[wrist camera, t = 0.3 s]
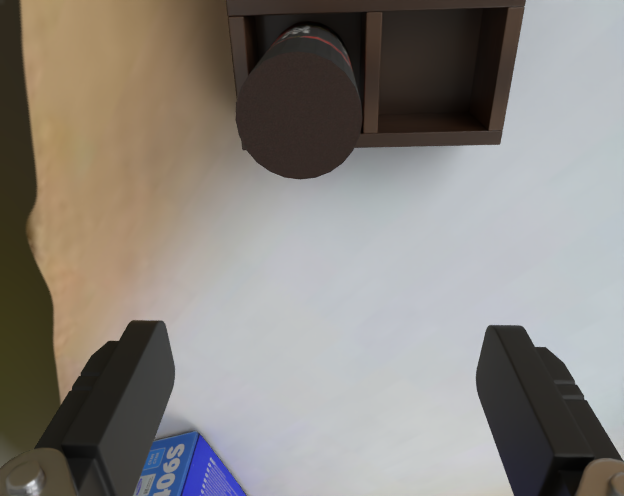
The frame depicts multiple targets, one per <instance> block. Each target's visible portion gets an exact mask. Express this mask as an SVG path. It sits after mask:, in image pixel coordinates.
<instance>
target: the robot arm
mask: <svg viewBox="0 0 624 496" xmlns="http://www.w3.org/2000/svg"><path fill="white" fill-rule="evenodd" d="M174 379H175V366H174V361H173V356H172V351H171V347H170V342H169V338H168V333H167V329H166V325H165V323H164V322H163V321H143V320H133V321H131V322H130V323H129V324H128V326H127V327H126V329H125V331H124V333H123V334H122V336H121V338H120V340H119V341H108V342H107V343H106V344H105V345H103V346H102V347H101V348H100V349H99V350H98V351H96V352H95V353H94V354H93V355H92V356H91V357H90V359H89V360H88V362H87V364H86V365H85V367H84V369H83V370H82V372H81V376H79V377H78V378H77V380H76V382H75V383H74V385H73V386H72V391H69V393H68V395H67V396H66V398H65V399H64V401H63V403H62V404H61V406H60V408H59V409H58V411H57V412H56V414H55V416H54V417H53V419H52V421H51V422H50V424H49V425H48V427H47V429H46V430H45V432H44V434H43V435H42V437H41V439H40V440H39V442H38V443H37V445H36V446H35V448H34V449H32V450H29V451H26V452H24V453H21V454H19V455H18V456H16V457H14V458H12V459H11V460H9V461H8V462H7V463H5V464H4V465H3V466H2V467H1V468H0V496H133V495H134V492H135V489H136V487H137V484H138V481H139V479H140V476H141V473H142V470H143V468H144V465H145V462H146V460H147V457H148V454H149V452H150V449H151V446H152V444H153V441H154V438H155V435H156V433H157V430H158V427H159V425H160V422H161V419H162V417H163V414H164V411H165V409H166V406H167V403H168V400H169V398H170V395H171V392H172V389H173V386H174ZM476 386H477V392H478V396H479V399H480V401H481V404H482V407H483V410H484V413H485V415H486V418H487V421H488V424H489V427H490V429H491V432H492V435H493V438H494V441H495V443H496V446H497V449H498V452H499V455H500V457H501V460H502V463H503V466H504V469H505V471H506V474H507V477H508V480H509V483H510V485H511V488H512V491H513V494H514V496H624V461H623V459H622V458H621V456H620V455H619V453H618V451H617V450H616V448H615V446H614V445H613V443H612V442H611V440H610V438H609V437H608V435H607V433H606V432H605V430H604V428H603V427H602V425H601V423H600V422H599V420H598V418H597V417H596V415H595V413H594V412H593V410H592V409H591V407H590V405H589V404H588V402H587V400H584V395H583V394H582V392H581V390H580V389H579V387H578V385H575V381H574V379H573V377H572V376H571V374H570V372H569V371H568V369H567V367H566V366H565V364H564V363H563V362H562V361H561V360H560V359H559V358H557V357H556V356H555V355H554V354H553V353H552V352H551V351H549V350H548V349H547V348H546V347H535V346H534V344H533V343H532V341H531V339H530V337H529V335H528V334H527V332H526V330H525V329H524V328H523V327H522V326H516V325H489V326H488V327H487V329H486V332H485V337H484V341H483V345H482V349H481V353H480V358H479V362H478V366H477V371H476Z"/></svg>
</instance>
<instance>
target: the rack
mask: <svg viewBox="0 0 624 496" xmlns="http://www.w3.org/2000/svg"><path fill="white" fill-rule="evenodd" d="M525 2H526V0H226V6H227V15H228V16H229V17H228V23H229V32H230V41H231V50H232V59H233V68H234V77H235V86H236V96H237V99H238V96H239V92H240V89H241V86H242V85H243V83H244V82H245V80H246V79H247V77H248V76H249V74H250V73H251V71H252V70H253V69H254V67H255V66H256V65H257V64H258V62H259V61H260V60H261V58H262V57H263V56H264V55H265V53H266V52H267V51H268V49H269V48H270V47H271V46H272V44H273V43H274V42H275V40H276V39H277V38H278V37H279V35H280V34H281V33H282V32H284V31H285V30H286V29H287V28H288V27H290V26H292V25H294V24H297V23H300V22H307V21H311V22H318V23H321V24H324V25H326V26H328V27H330V28H331V29H332V30H333V31H335V32H336V33H337V34H338V35H339V36H340V38H341V39H342V41H343V42H344V44H345V47H346V49H347V52H348V55H349V59H350V63H351V67H352V70H353V74H354V78H355V82H356V85H357V89H358V93H359V97H360V100H361V107H362V119H363V120H362V126H361V131H360V136H359V139H358V141H357V143H356V145H355V147H354V148H364V147H411V146H458V145H500V143H501V137H502V130H503V126H504V120H505V114H506V109H507V103H508V98H509V92H510V86H511V81H512V75H513V70H514V64H515V58H516V53H517V47H518V42H519V36H520V30H521V25H522V19H523V14H524V6H525ZM241 141H242V140H241ZM242 149H243V150H246V148H245V146H244V144H243V142H242Z"/></svg>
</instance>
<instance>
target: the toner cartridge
mask: <svg viewBox="0 0 624 496" xmlns="http://www.w3.org/2000/svg"><path fill="white" fill-rule="evenodd" d="M133 496H246V494H245V493H244V492H243V491H242V489H241V487H240V485H239V484H238V483H237V482H236V480H235V479H234V477H233V476H232V475H231V473H230V472H229V471H228V470H227V468H226V467H225V466H224V464H223V463H222V462H221V461H220V459H219V458H218V457H217V455H216V454H215V453H214V451H213V450H212V449H211V447H210V446H209V445H208V443H207V442H206V441H205V440H204V439H203V437H202V436H201V435H200V434H199V433H198V432H197V431H194V432H190V433H186V434H181V435H177V436H173V437H168V438H164V439H159V440H156V441H153V444H152V446H151V449H150V452H149V454H148V457H147V460H146V462H145V465H144V468H143V470H142V473H141V476H140V479H139V481H138V484H137V487H136V489H135V492H134V495H133Z"/></svg>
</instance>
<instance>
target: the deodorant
mask: <svg viewBox="0 0 624 496" xmlns="http://www.w3.org/2000/svg"><path fill="white" fill-rule="evenodd" d="M362 120H363V119H362V107H361V100H360V97H359V93H358V89H357V85H356V82H355V78H354V74H353V70H352V67H351V63H350V59H349V55H348V52H347V49H346V47H345V44H344V42H343V41H342V39H341V38H340V36H339V35H338V34H337V33H336V32H335V31H333V30H332V29H331V28H330V27H328V26H326V25H324V24H321V23H318V22H311V21H307V22H300V23H297V24H294V25H292V26H290V27H288V28H287V29H286V30H285V31H284V32H282V33H281V34H280V35H279V37H278V38H277V39H276V40H275V42H274V43H273V44H272V46H271V47H270V48H269V49H268V51H267V52H266V53H265V55H264V56H263V57H262V58H261V60H260V61H259V62H258V64H257V65H256V66H255V67H254V69H253V70H252V71H251V73H250V74H249V76H248V77H247V79H246V80H245V82H244V83H243V85H242V86H241V89H240V92H239V96H238V99H237V102H236V123H237V128H238V132H239V136H240V138H241V140H242V142H243V144H244V146H245V148H246V150H247V151H248V153H249V154H250V155H251V156H252V157H253V158H254V159H255V161H256V162H257V163H259V164H260V165H261V166H263V167H264V168H266V169H267V170H269V171H270V172H272V173H275V174H277V175H280V176H282V177H285V178H293V179H308V178H316V177H318V176H321V175H324V174H326V173H329V172H331V171H332V170H334V169H335V168H336V167H338V166H339V165H341V164H342V163H343V162H344V161H345V160H346V158H347V157H348V156H349V155H350V154H351V152H352V151H353V149H354V147H355V145H356V143H357V141H358V139H359V136H360V131H361V126H362Z"/></svg>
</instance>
